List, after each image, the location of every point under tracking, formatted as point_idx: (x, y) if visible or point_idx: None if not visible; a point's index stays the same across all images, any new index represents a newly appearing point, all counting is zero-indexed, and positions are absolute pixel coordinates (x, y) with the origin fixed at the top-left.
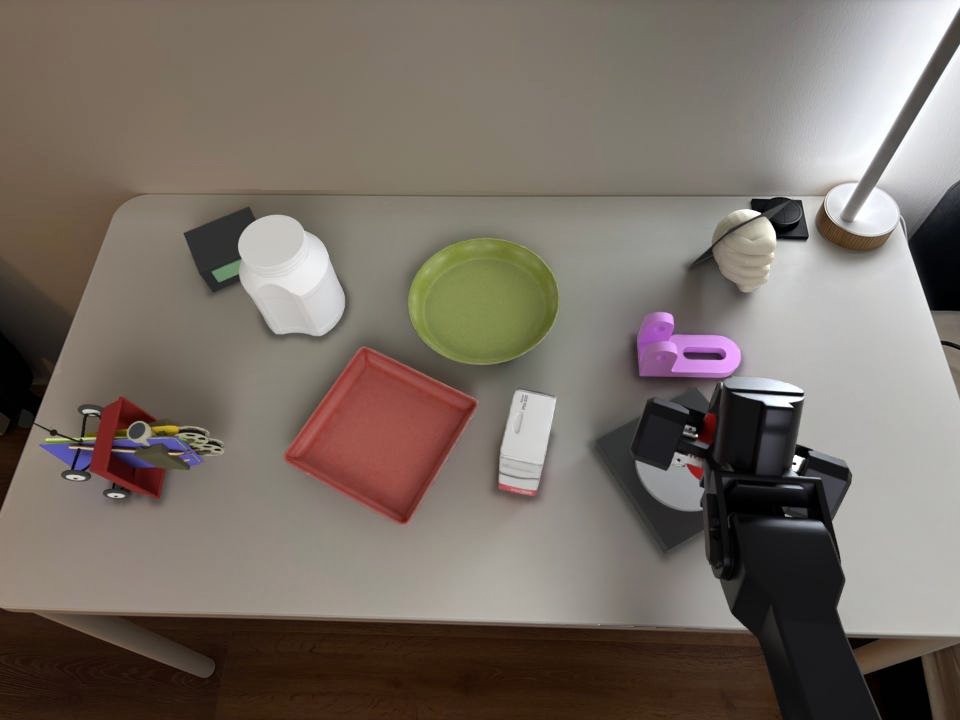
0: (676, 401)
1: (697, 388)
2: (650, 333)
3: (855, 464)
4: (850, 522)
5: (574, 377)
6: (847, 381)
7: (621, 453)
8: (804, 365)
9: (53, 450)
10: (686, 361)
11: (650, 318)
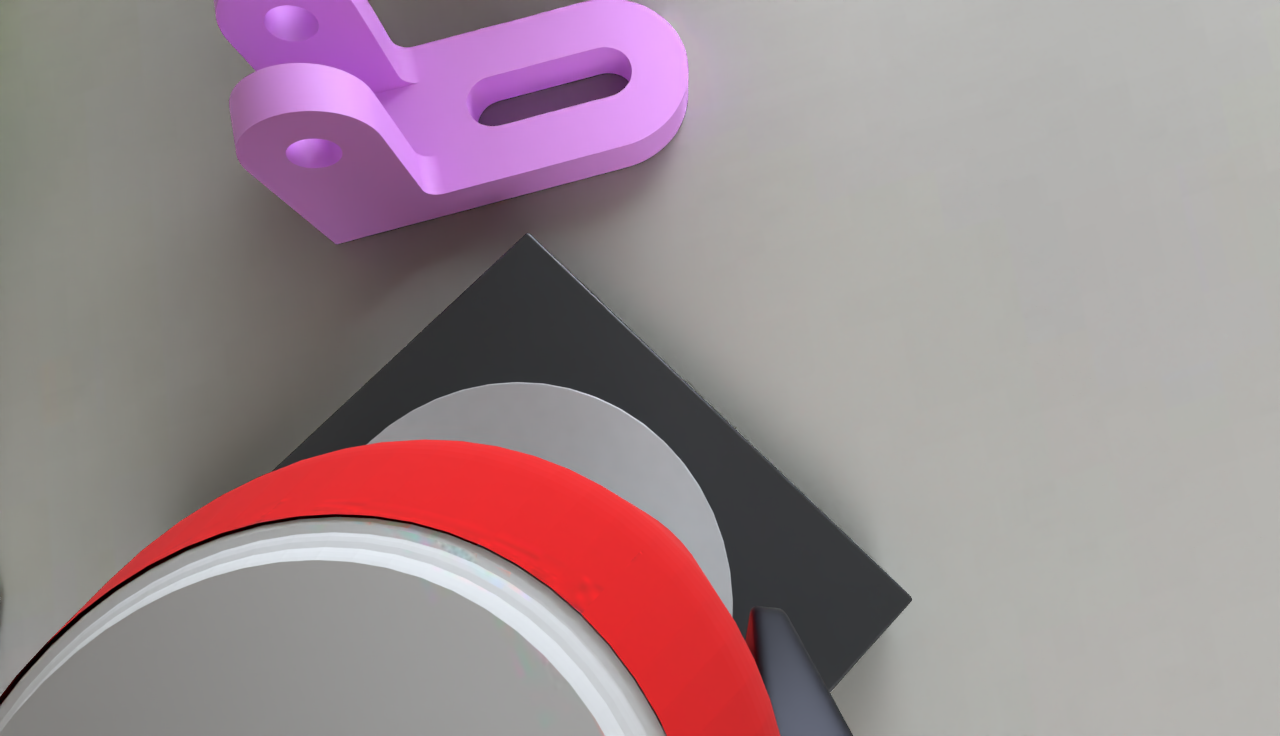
0: (452, 321)
1: (530, 240)
2: (282, 57)
3: (1188, 370)
4: (1222, 624)
5: (93, 320)
6: (1090, 49)
7: None
8: (926, 32)
9: None
10: (484, 137)
11: None
